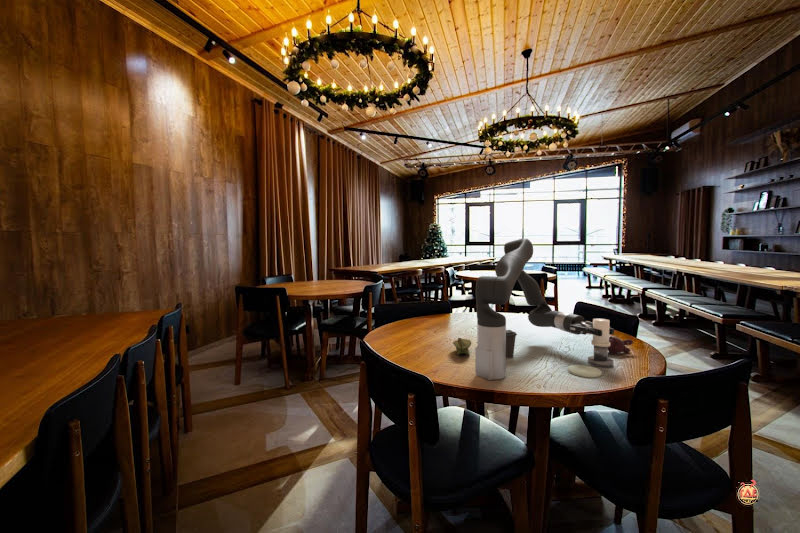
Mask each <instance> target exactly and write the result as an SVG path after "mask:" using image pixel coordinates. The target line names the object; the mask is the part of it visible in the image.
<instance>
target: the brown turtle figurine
mask: <svg viewBox="0 0 800 533" xmlns="http://www.w3.org/2000/svg"><path fill="white" fill-rule="evenodd" d="M609 342H610V343H611V344H610V347H608V353H609V354H612V355H615V354H621V353H627V354H628V353H630V352H631V349H630V348H629V347H628V346H630V345H632V344H633V343H634V340H632V339H631V338H630V339H629V338H628V339H625V340H622V339H621V338H619V337H617V336H616V337H615V336H611V335H609Z"/></svg>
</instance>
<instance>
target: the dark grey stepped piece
mask: <svg viewBox="0 0 800 533" xmlns="http://www.w3.org/2000/svg"><path fill="white" fill-rule="evenodd" d="M608 353H609V351H608V347H599V346H595V345H593V355H590V356H588V357H587V363H588V364H589V365H590V366H593V367H594V366H595V367H598V368H613V367H614V360H613V359H612V358H609V356H608V355H609V354H608Z"/></svg>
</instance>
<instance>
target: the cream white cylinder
mask: <svg viewBox="0 0 800 533" xmlns="http://www.w3.org/2000/svg"><path fill="white" fill-rule="evenodd" d="M592 322H593V328H595V329H599V330H602V336H597V335H593V334H592V340H591V345H592V346H594V345H595V346H599V347H610V344H611V343H610V342H609V337H610V334H609V328H611V326H610V322H611V321H610V319H606V318H592Z"/></svg>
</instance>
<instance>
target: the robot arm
mask: <svg viewBox="0 0 800 533" xmlns="http://www.w3.org/2000/svg"><path fill="white" fill-rule="evenodd" d="M503 252H504V255H502V256H501V258H500V259H499V260H498V261H497V263H496V264H495V268H494V269H495V274H496V275H494V276H493V275H492V276H489V275H488V276H487V275H486V276H485V275H481V276H479V277H478V278H477V279H476V283H475V302H476V303H475V304H476V320H477V321H476V322H477V336H476V338H477V339H476V340H477V345H476V347H475V349H474V350H475V358H474V359H475V363H474V364H475V368H474V369H475V371H474V372H475V376H477V377H480V378H482V379H485V380H488V381H491V380H495V381H496V380H502V379H505V378H506V376H507V374H506V373H507V364H506V363H507V358H506V330H507V318H506V316H505V315H504V314H502V313H500V312H497V311H496V310H494V309H493V308H491V306H490V305H495V306H496V305H499V306H500V305H506V304H507V303H508V302H509V301H510V298H511V295H512V293H513V289H514V287H515V284H516V283H517V281H518V284H519V285H520V287H521V288H520V289H521V290H522V293H523V296H524V298H525V301H526V304H528V306H532V307H535V306H537V307H535V308H534V309H533V310H531V311H530V312H528V315H527V319H528V322H530V324H532V325H533V326H535V327H540V328H541V327H542V328H550V327H552V328H554V329H558V330H560V331H563V332H567V333H569V334H573V335H585V336H586V335H592V336H593V335H597V336H602V330H599V329H595V328H593V321H592V322H591V321H589V320H586V319H585V318H584V316H582V315H578V314H574V313H570V312H562V311H558V310H552V308H551V307H550V306H549V304H548V303H547V300H545V298H544V297H543V294H542V291H541V288H540V286H539V284H538V282H537V281H536V280H535V279H534V278H533V277H532V276H530V274H528V273H527V272H526V271H525V270H524V267H525V266H526V264H527V263H528V262H529V261H530V260H531V259H532V258H533V256H534V255H533V254H534V246H533V244H532V242H531V241H530V239H528V238H518V239H515V240H511V241H508V242H505V244H504V246H503ZM609 335H610V336H611V335H615V329H614V328H612V327H610V328H609Z"/></svg>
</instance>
